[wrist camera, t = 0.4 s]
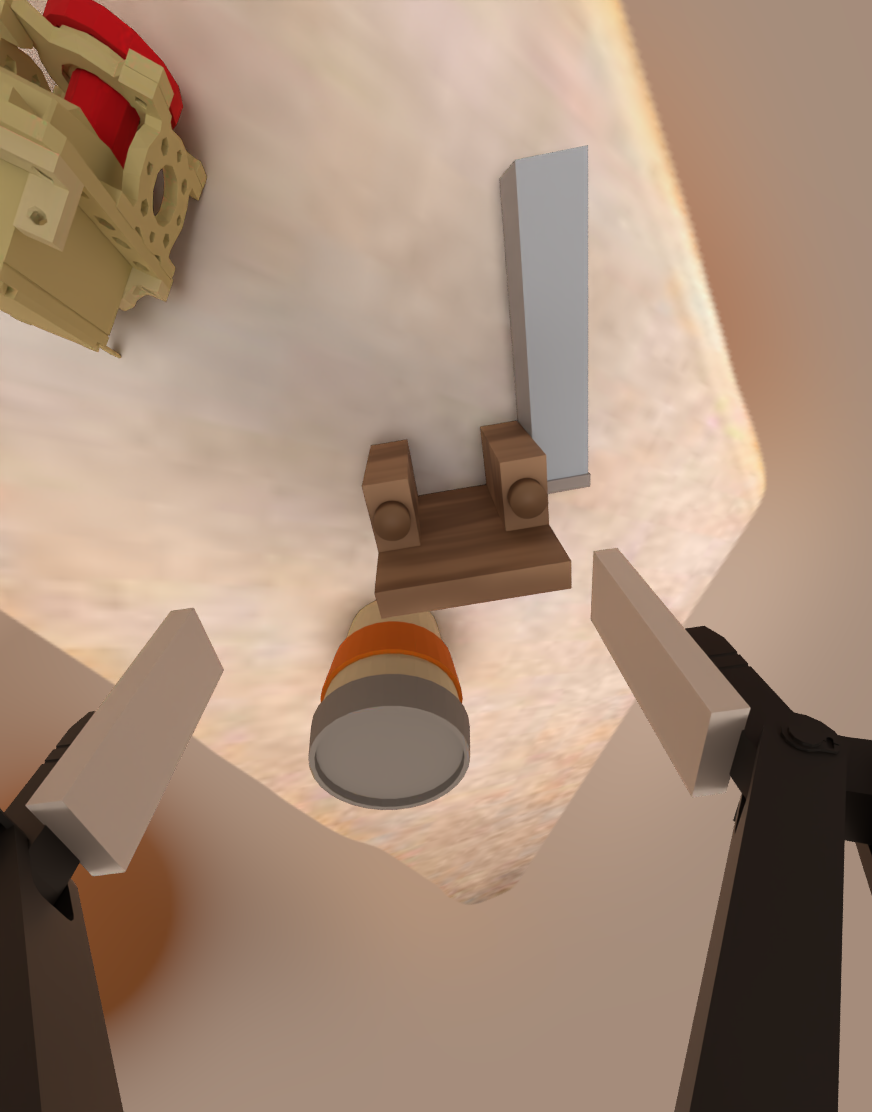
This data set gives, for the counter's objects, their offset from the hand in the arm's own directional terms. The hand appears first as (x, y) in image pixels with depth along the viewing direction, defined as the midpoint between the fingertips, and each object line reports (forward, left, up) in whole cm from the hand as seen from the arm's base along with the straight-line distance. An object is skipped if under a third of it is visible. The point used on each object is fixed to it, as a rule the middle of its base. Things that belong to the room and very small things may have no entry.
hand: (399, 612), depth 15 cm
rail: (-4, +11, -25) cm, 28 cm away
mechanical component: (-18, -13, -25) cm, 34 cm away
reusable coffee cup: (+21, -5, -25) cm, 33 cm away
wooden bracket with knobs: (+4, +3, -25) cm, 25 cm away
